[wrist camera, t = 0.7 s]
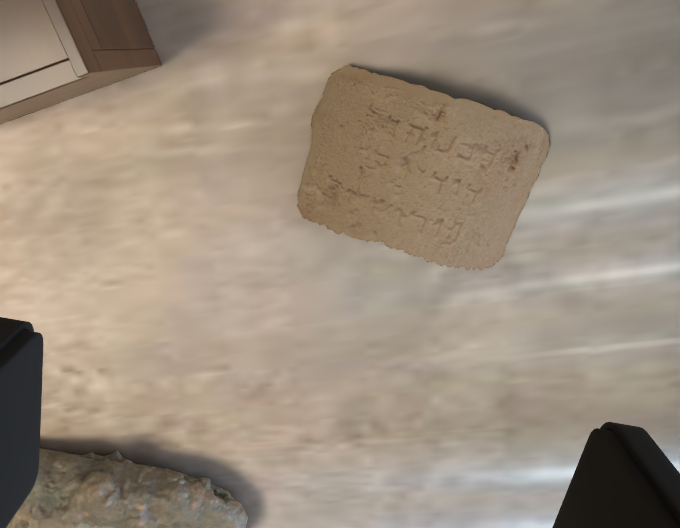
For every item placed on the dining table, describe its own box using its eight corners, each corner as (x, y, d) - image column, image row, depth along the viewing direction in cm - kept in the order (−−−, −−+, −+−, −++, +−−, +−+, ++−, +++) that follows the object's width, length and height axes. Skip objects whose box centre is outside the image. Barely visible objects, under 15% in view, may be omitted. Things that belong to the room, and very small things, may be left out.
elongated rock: (-206, 381, 45) (-184, 484, 49) (-276, 425, 40) (-246, 536, 44) (257, 462, 46) (243, 558, 49) (243, 515, 41) (229, 618, 45)
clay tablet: (291, 212, 40) (288, 224, 37) (336, 56, 37) (336, 57, 34) (497, 272, 41) (507, 287, 39) (557, 127, 38) (573, 132, 36)
